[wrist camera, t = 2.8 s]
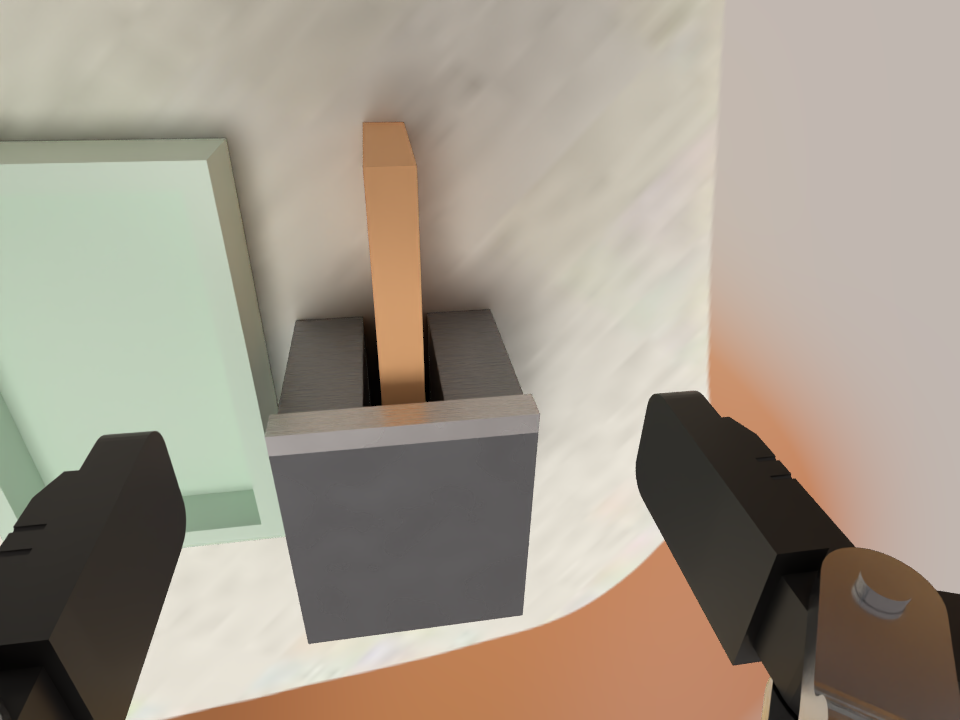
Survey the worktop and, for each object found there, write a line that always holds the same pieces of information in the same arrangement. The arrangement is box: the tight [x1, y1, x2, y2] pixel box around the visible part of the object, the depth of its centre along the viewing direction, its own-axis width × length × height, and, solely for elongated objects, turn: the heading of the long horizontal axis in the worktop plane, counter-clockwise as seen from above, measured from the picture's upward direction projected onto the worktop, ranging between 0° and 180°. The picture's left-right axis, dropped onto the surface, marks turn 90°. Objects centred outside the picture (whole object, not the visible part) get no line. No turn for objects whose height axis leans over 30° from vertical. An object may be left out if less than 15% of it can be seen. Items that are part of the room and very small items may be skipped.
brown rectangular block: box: [363, 122, 425, 406], centre depth 24 cm, size 10×2×7 cm, turn 179°
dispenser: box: [265, 309, 540, 644], centre depth 27 cm, size 11×9×10 cm
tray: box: [0, 138, 286, 548], centre depth 26 cm, size 18×12×4 cm, turn 179°
